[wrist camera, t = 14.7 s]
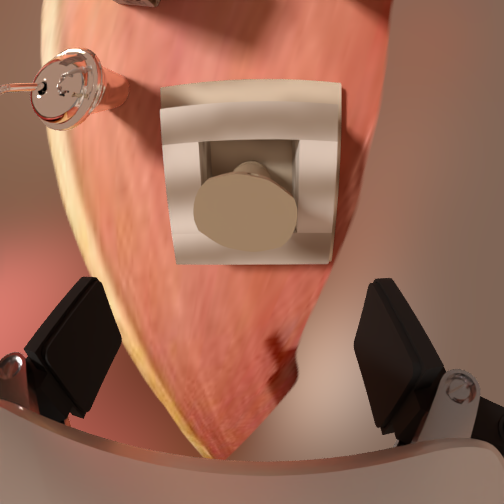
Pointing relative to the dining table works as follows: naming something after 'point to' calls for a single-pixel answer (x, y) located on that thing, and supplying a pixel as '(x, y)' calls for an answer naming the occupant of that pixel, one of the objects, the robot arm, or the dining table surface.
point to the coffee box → (139, 2)
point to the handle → (245, 209)
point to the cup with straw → (72, 89)
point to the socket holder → (254, 148)
